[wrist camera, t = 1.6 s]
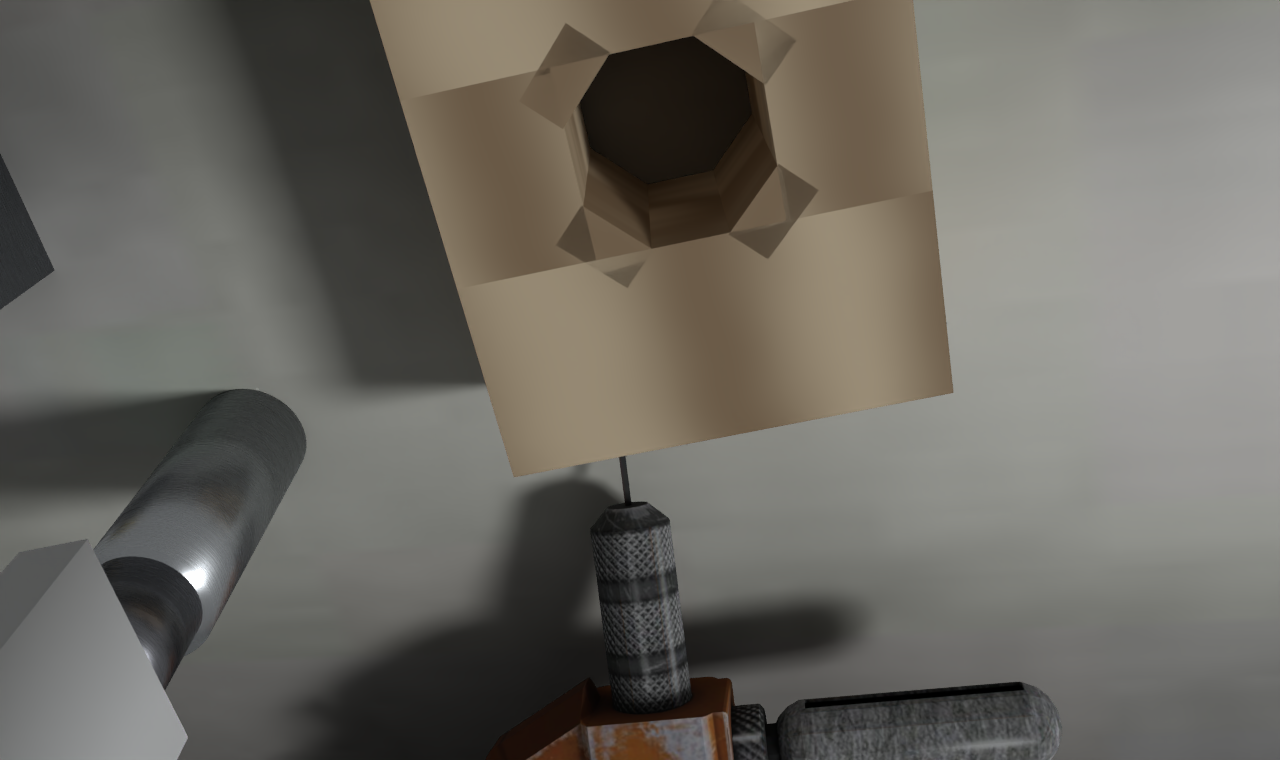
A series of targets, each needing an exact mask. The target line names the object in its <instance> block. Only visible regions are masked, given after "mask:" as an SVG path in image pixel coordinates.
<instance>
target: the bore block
mask: <svg viewBox="0 0 1280 760" xmlns="http://www.w3.org/2000/svg"><path fill="white" fill-rule="evenodd" d="M370 3H371V6H372V9H373V13H374V16H375V19H376V23H377V26H378V29H379V33H380V36H381V39H382V43H383V46H384V49H385V52H386V56H387V59H388V62H389V66H390V69H391V72H392V76H393V79H394V82H395V85H396V89H397V92H398V95H399V99H400V102H401V105H402V109H403V112H404V115H405V119H406V122H407V125H408V128H409V132H410V135H411V138H412V142H413V145H414V148H415V152H416V155H417V158H418V162H419V165H420V168H421V171H422V175H423V178H424V181H425V185H426V188H427V191H428V195H429V198H430V201H431V204H432V208H433V211H434V214H435V218H436V221H437V224H438V228H439V231H440V234H441V238H442V241H443V244H444V247H445V251H446V254H447V257H448V261H449V264H450V267H451V271H452V274H453V277H454V281H455V284H456V287H457V290H458V294H459V297H460V300H461V304H462V307H463V310H464V314H465V317H466V320H467V324H468V327H469V330H470V333H471V337H472V340H473V343H474V347H475V350H476V353H477V357H478V360H479V363H480V366H481V370H482V373H483V376H484V380H485V383H486V386H487V390H488V393H489V396H490V400H491V403H492V406H493V409H494V413H495V416H496V419H497V423H498V426H499V429H500V433H501V436H502V439H503V443H504V446H505V449H506V452H507V456H508V459H509V462H510V466H511V469H512V472H513V476H514V477H518V476H523V475H528V474H534V473H539V472H544V471H549V470H554V469H560V468H565V467H570V466H575V465H580V464H586V463H591V462H596V461H601V460H606V459H612V458H617V457H622V456H627V455H632V454H638V453H643V452H648V451H653V450H658V449H664V448H669V447H674V446H679V445H684V444H690V443H695V442H700V441H705V440H710V439H716V438H721V437H726V436H731V435H736V434H742V433H747V432H752V431H757V430H762V429H768V428H773V427H778V426H783V425H788V424H794V423H799V422H804V421H809V420H814V419H820V418H825V417H830V416H835V415H840V414H846V413H851V412H856V411H861V410H866V409H872V408H877V407H882V406H887V405H892V404H898V403H903V402H908V401H913V400H918V399H924V398H929V397H934V396H939V395H944V394H950V393H953V384H952V375H951V365H950V355H949V346H948V336H947V326H946V316H945V307H944V297H943V287H942V278H941V268H940V258H939V249H938V239H937V229H936V219H935V210H934V200H933V190H932V181H931V171H930V161H929V152H928V142H927V132H926V123H925V113H924V103H923V93H922V84H921V74H920V64H919V55H918V45H917V35H916V26H915V16H914V6H913V0H370ZM690 36H695V37H696V38H697V39H699V40H700V41H702V42H703V43H705V44H706V45H708V46H709V47H711V48H712V49H714V50H715V51H717V52H718V53H720V54H721V55H722V56H724V57H725V58H727V59H728V60H730V61H731V62H733V63H734V64H736V65H737V66H739V67H740V68H742V69H743V70H745V75H746V81H747V86H748V92H749V98H750V104H751V110H752V114H751V116H750V117H749V119H748V120H747V122H746V123H745V125H744V126H743V128H742V129H741V130H740V132H739V133H738V135H737V136H736V138H735V139H734V141H733V142H732V144H731V145H730V146H729V148H728V149H727V151H726V152H725V154H724V155H723V157H722V158H721V160H720V161H719V163H718V164H717V165H716V167H715V168H714V170H713V171H708V172H703V173H699V174H694V175H689V176H685V177H680V178H675V179H670V180H666V181H661V182H656V183H652V184H646V183H645V182H643V181H641V180H640V179H638V178H637V177H635V176H634V175H632V174H630V173H629V172H627V171H626V170H624V169H622V168H621V167H619V166H618V165H616V164H615V163H613V162H611V161H610V160H608V159H607V158H605V157H604V156H602V155H600V154H599V153H597V152H596V151H594V150H592V149H591V148H590V144H589V139H588V135H587V131H586V127H585V122H584V118H583V114H582V109H581V105H580V101H581V99H582V97H583V96H584V94H585V92H586V91H587V89H588V88H589V86H590V84H591V83H592V81H593V80H594V78H595V76H596V75H597V73H598V71H599V70H600V68H601V67H602V65H603V63H604V62H605V60H606V58H607V57H608V55H609V54H613V53H618V52H622V51H627V50H631V49H636V48H640V47H645V46H649V45H654V44H658V43H663V42H667V41H672V40H677V39H681V38H686V37H690Z"/></svg>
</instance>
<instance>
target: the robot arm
mask: <svg viewBox="0 0 1280 760" xmlns="http://www.w3.org/2000/svg"><path fill="white" fill-rule="evenodd" d="M187 738H188V736H187V734H186V732H185V730H184V728H183V726H182V724H181V722H180V720H179V718H178V716H177V714H176V712H175V711H174V709H173V707H172V705H171V703H170V701H169V699H168V697H167V695H166V693H165V691H164V689H163V687H162V685H161V683H160V681H159V679H158V677H157V675H156V673H155V671H154V669H153V667H152V665H151V663H150V661H149V659H148V657H147V655H146V653H145V651H144V649H143V647H142V645H141V643H140V641H139V639H138V637H137V635H136V633H135V631H134V629H133V628H132V626H131V624H130V622H129V620H128V618H127V616H126V614H125V612H124V610H123V608H122V606H121V604H120V602H119V600H118V598H117V596H116V594H115V592H114V590H113V588H112V586H111V584H110V582H109V580H108V578H107V576H106V574H105V572H104V570H103V568H102V566H101V564H100V562H99V560H98V558H97V556H96V554H95V552H94V550H93V548H92V546H91V545H90V543H89V541H88V539H85V540H80V541H75V542H70V543H65V544H60V545H54V546H49V547H44V548H39V549H34V550H29V551H24V552H19V553H18V554H17V555H16V556H15V558H14V559H13V560H12V561H11V562H10V563H9V565H8V566H7V567H6V568H5V569H4V570H3V571H2V573H1V574H0V760H177V759H178V757H179V755H180V752H181V750H182V748H183V746H184V744H185V742H186V740H187Z"/></svg>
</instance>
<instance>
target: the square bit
mask: <svg viewBox="0 0 1280 760" xmlns="http://www.w3.org/2000/svg"><path fill="white" fill-rule="evenodd" d="M53 271H54V268H53V266H52V264H51V262H50V260H49V257H48V255H47V253H46V251H45V249H44V247H43V245H42V242H41V240H40V238H39V236H38V234H37V232H36V229H35V227H34V225H33V223H32V221H31V219H30V217H29V214H28V212H27V210H26V208H25V206H24V204H23V201H22V199H21V197H20V195H19V193H18V191H17V188H16V186H15V184H14V182H13V180H12V178H11V176H10V173H9V171H8V169H7V167H6V165H5V163H4V160H3V158H2V156H1V154H0V309H2V308H3V307H4V306H6V305H7V304H9V303H10V302H11V301H13V300H14V299H16V298H17V297H18V296H20V295H21V294H22V293H24V292H25V291H27V290H28V289H29V288H31V287H32V286H34V285H35V284H36V283H38V282H39V281H40V280H42V279H43V278H45V277H46V276H47V275H49V274H50V273H52V272H53Z"/></svg>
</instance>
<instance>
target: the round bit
mask: <svg viewBox="0 0 1280 760" xmlns="http://www.w3.org/2000/svg"><path fill="white" fill-rule="evenodd" d="M305 452H306V437H305V432H304V429H303V427H302V425H301V422H300V421H299V419H298V418H297V416H296V415H295V414H294V412H293V411H292V410H291V409H290V408H289V407H288V406H287V405H285V404H284V403H283V402H281V401H280V400H278V399H277V398H275V397H273V396H271V395H269V394H266V393H263V392H260V391H255V390H247V389H238V390H231V391H227V392H224V393H222V394H219V395H217V396H215V397H214V398H212V399H211V400H210V401H209V402H207V403H206V405H205V406H204V407H203V408H202V409H201V411H200V412H199V413H198V415H197V416H196V417H195V418H194V420H193V421H192V422H191V424H190V425H189V426H188V428H187V429H186V430H185V431H184V433H183V434H182V435H181V437H180V438H179V439H178V441H177V442H176V443H175V444H174V446H173V447H172V448H171V450H170V451H169V452H168V453H167V455H166V456H165V457H164V459H163V460H162V461H161V463H160V464H159V465H158V466H157V468H156V469H155V470H154V472H153V473H152V474H151V476H150V477H149V478H148V479H147V481H146V482H145V483H144V485H143V486H142V487H141V489H140V490H139V491H138V492H137V494H136V495H135V496H134V498H133V499H132V500H131V501H130V503H129V504H128V505H127V507H126V508H125V509H124V511H123V512H122V513H121V514H120V516H119V517H118V518H117V520H116V521H115V522H114V524H113V525H112V526H111V527H110V529H109V530H108V531H107V533H106V534H105V535H104V537H103V538H102V539H101V540H100V542H99V543H98V544H97V546H96V547H95V548H94V549H93V550H94V552H95V554H96V556H97V558H98V560H99V562H100V564H101V566H102V568H103V570H104V572H105V574H106V576H107V578H108V580H109V582H110V584H111V586H112V588H113V590H114V592H115V594H116V596H117V598H118V600H119V602H120V604H121V606H122V608H123V610H124V612H125V614H126V616H127V618H128V620H129V622H130V624H131V626H132V628H133V629H134V631H135V633H136V635H137V637H138V639H139V641H140V643H141V645H142V647H143V649H144V651H145V653H146V655H147V657H148V659H149V661H150V663H151V665H152V667H153V669H154V671H155V673H156V675H157V677H158V679H159V681H160V683H161V685H162V687H163V689H164V691H165V689H166V687H167V686H168V684H169V682H170V680H171V678H172V677H173V675H174V673H175V671H176V669H177V668H178V666H179V664H180V662H181V660H182V659H183V657H184V656H186V655H188V654H189V653H191V652H193V651H194V650H196V649H197V648H199V647H200V646H201V645H202V644H203V643H204V642H205V640H206V639H207V638H208V636H209V634H210V632H211V631H212V629H213V627H214V625H215V623H216V621H217V619H218V618H219V616H220V614H221V612H222V610H223V608H224V606H225V605H226V603H227V601H228V599H229V597H230V595H231V593H232V592H233V590H234V588H235V586H236V584H237V582H238V580H239V579H240V577H241V575H242V573H243V571H244V569H245V567H246V566H247V564H248V562H249V560H250V558H251V556H252V554H253V553H254V551H255V549H256V547H257V545H258V543H259V541H260V540H261V538H262V536H263V534H264V532H265V530H266V528H267V527H268V525H269V523H270V521H271V519H272V517H273V515H274V513H275V512H276V510H277V508H278V506H279V504H280V502H281V500H282V499H283V497H284V495H285V493H286V491H287V489H288V487H289V486H290V484H291V482H292V480H293V478H294V476H295V474H296V473H297V471H298V469H299V467H300V465H301V463H302V461H303V459H304V456H305Z"/></svg>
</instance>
